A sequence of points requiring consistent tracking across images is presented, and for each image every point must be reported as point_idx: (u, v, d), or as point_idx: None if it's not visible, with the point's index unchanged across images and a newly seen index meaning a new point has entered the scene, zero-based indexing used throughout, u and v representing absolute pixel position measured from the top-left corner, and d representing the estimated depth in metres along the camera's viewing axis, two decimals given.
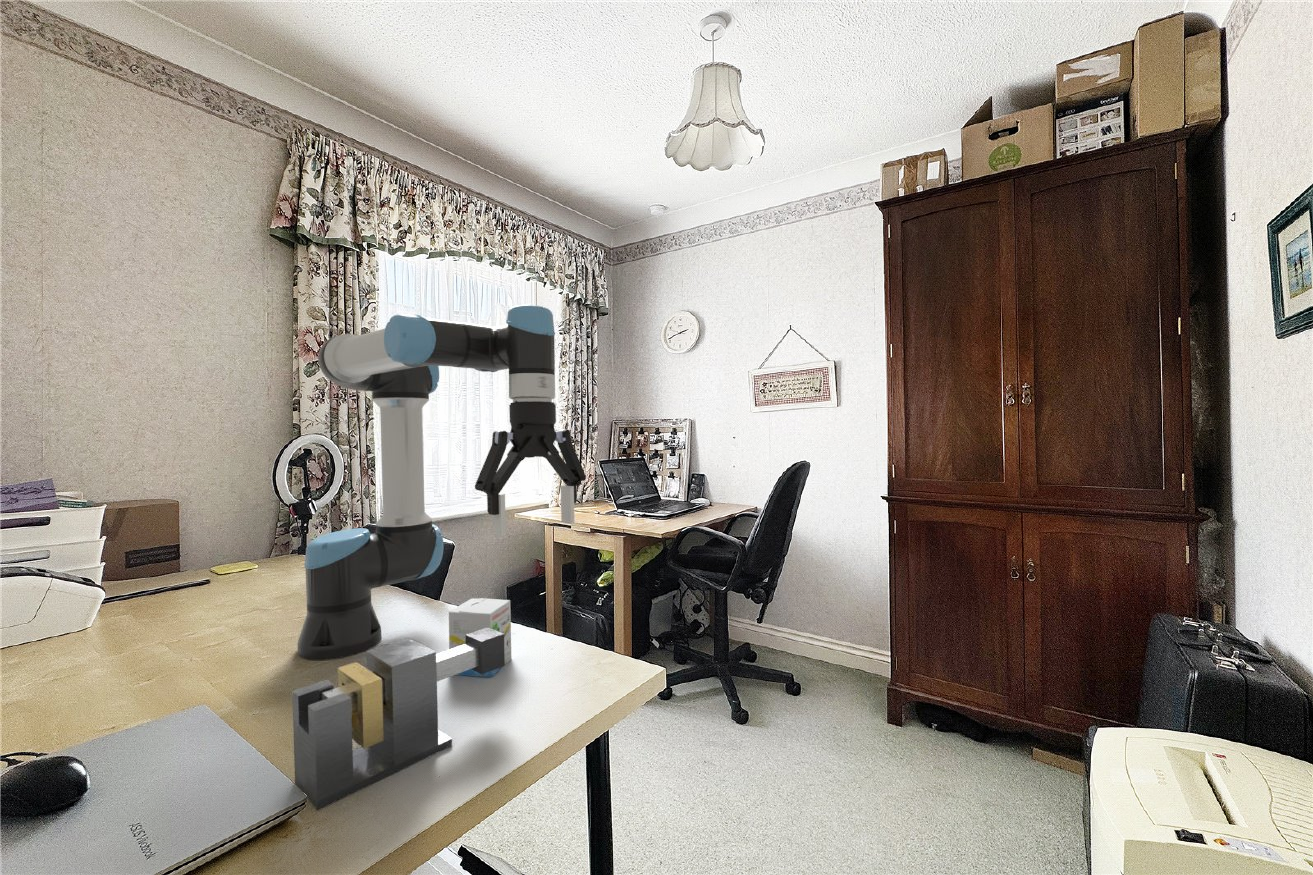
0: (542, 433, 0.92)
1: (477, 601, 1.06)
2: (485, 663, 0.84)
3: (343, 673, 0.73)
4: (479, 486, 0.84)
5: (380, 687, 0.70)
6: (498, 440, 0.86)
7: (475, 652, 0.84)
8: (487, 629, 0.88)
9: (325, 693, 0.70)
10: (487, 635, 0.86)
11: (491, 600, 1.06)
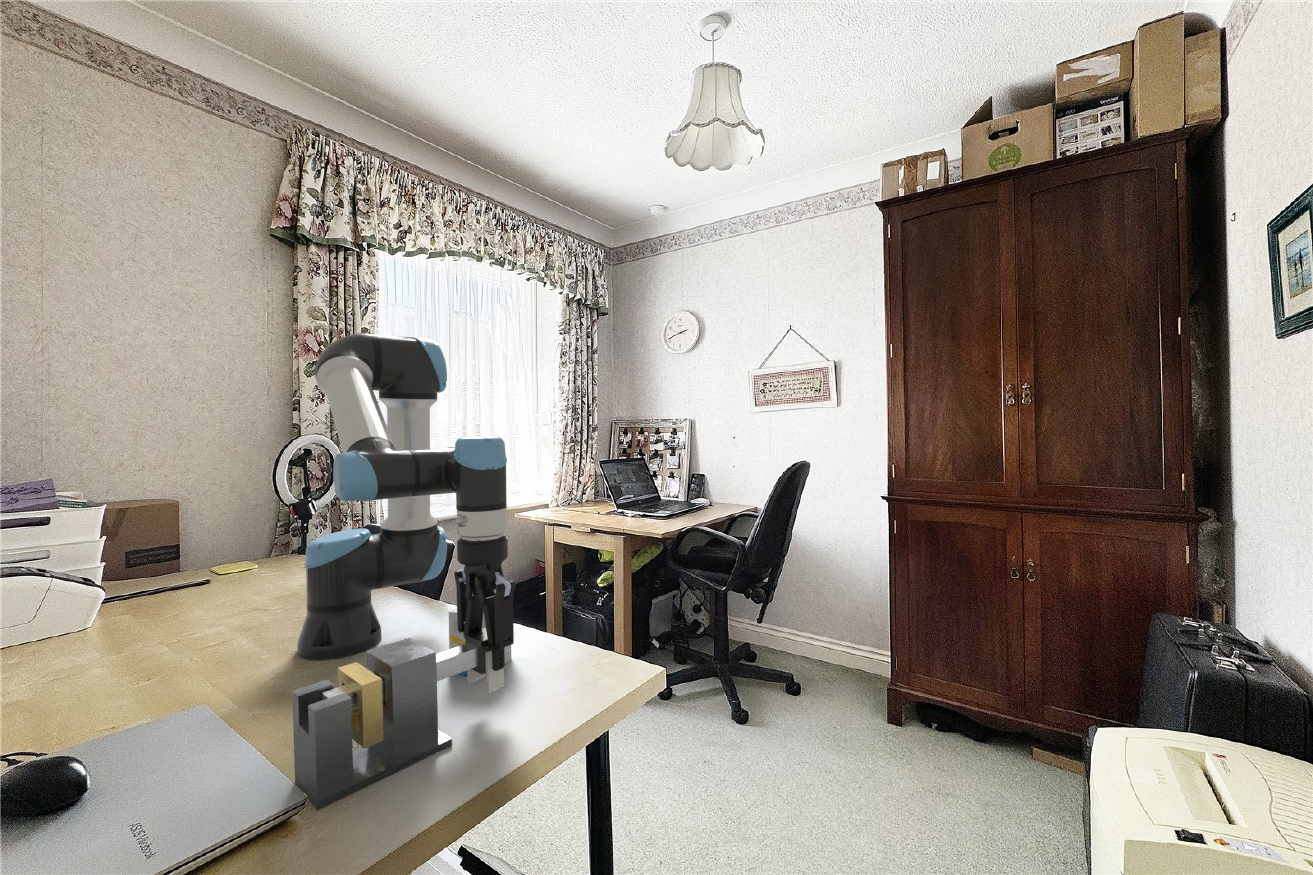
0: (481, 567, 0.84)
1: None
2: (485, 663, 0.84)
3: (343, 673, 0.73)
4: None
5: (380, 687, 0.70)
6: None
7: (475, 652, 0.84)
8: None
9: (325, 693, 0.70)
10: None
11: None
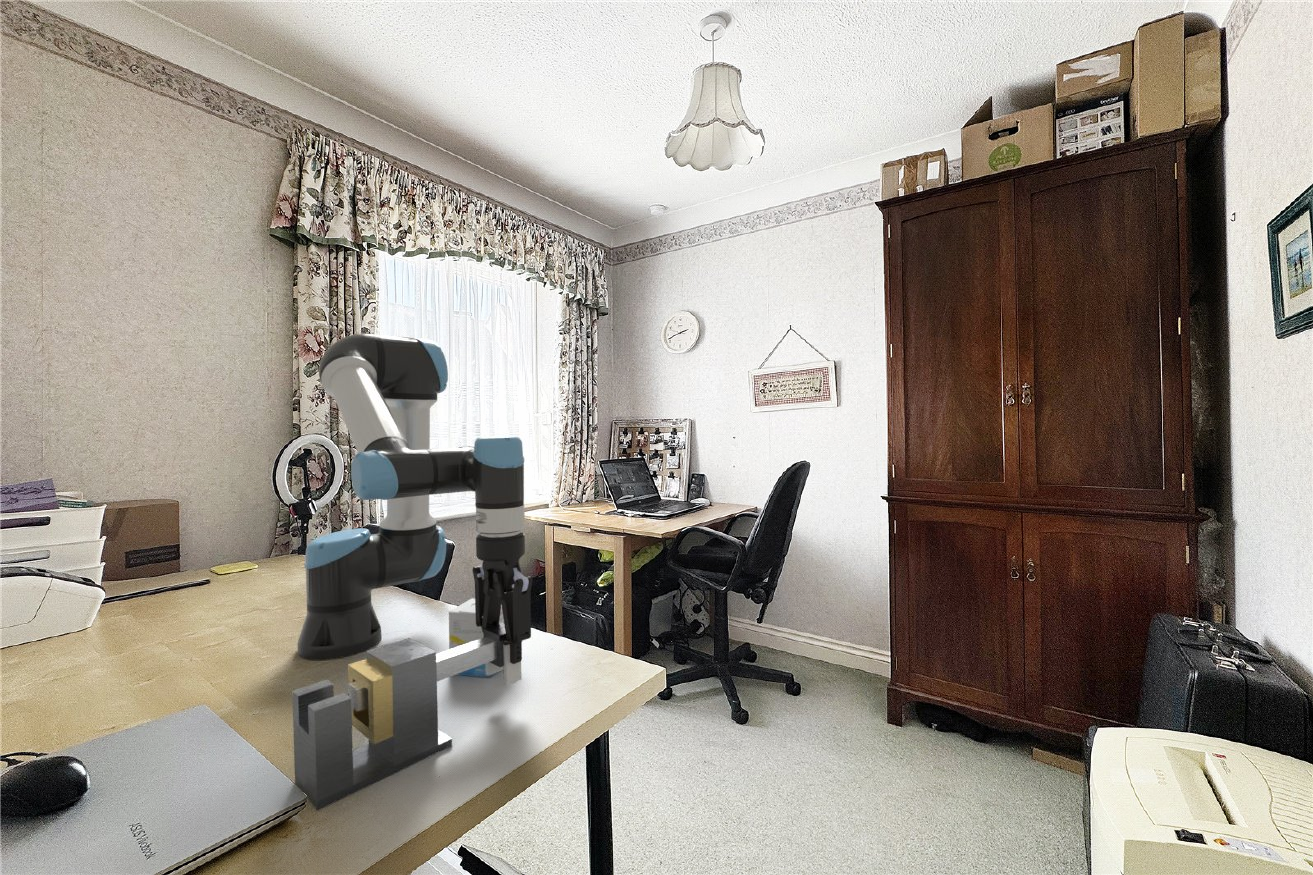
0: (500, 563, 0.87)
1: None
2: (503, 656, 0.86)
3: (354, 670, 0.74)
4: None
5: (390, 683, 0.71)
6: None
7: (493, 645, 0.86)
8: None
9: (352, 684, 0.72)
10: (504, 629, 0.88)
11: None
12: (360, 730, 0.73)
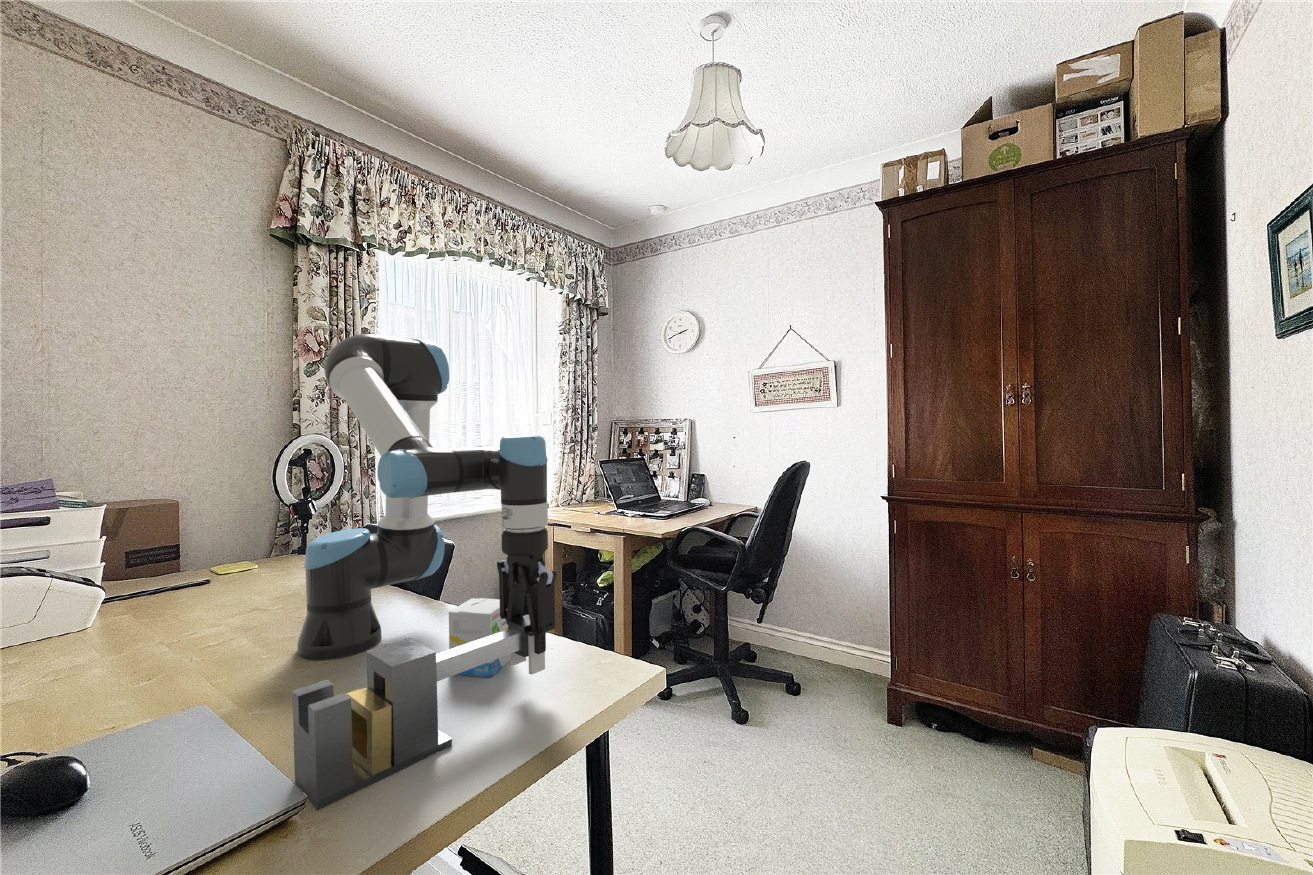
0: (524, 557, 0.90)
1: (477, 601, 1.06)
2: None
3: (352, 699, 0.74)
4: None
5: (389, 714, 0.71)
6: None
7: (518, 637, 0.89)
8: (527, 616, 0.94)
9: None
10: (528, 621, 0.92)
11: (491, 600, 1.06)
12: (357, 760, 0.72)
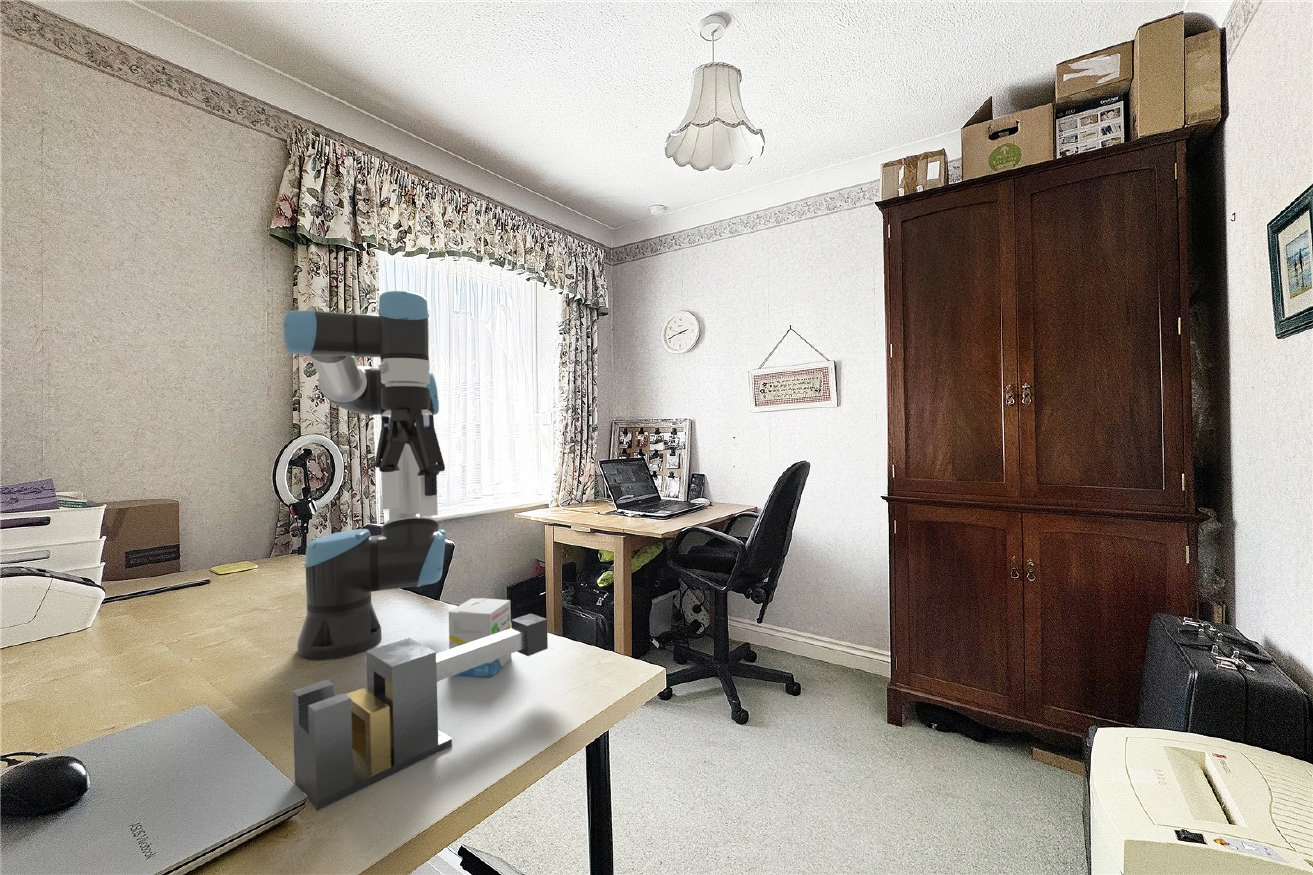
0: (402, 418, 0.91)
1: (477, 601, 1.06)
2: (531, 645, 0.90)
3: None
4: None
5: (387, 714, 0.71)
6: None
7: (521, 635, 0.90)
8: (530, 615, 0.95)
9: None
10: (531, 620, 0.92)
11: (491, 600, 1.06)
12: (357, 761, 0.72)
